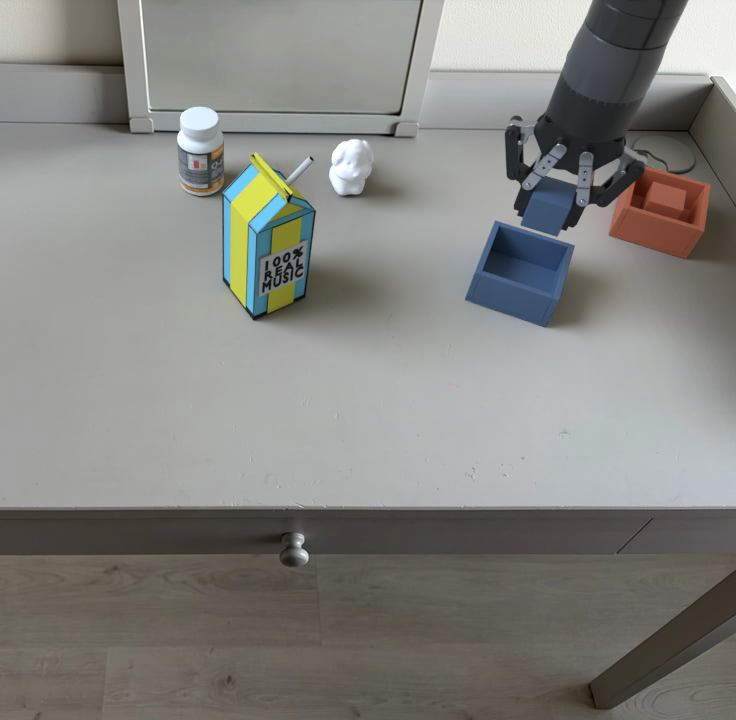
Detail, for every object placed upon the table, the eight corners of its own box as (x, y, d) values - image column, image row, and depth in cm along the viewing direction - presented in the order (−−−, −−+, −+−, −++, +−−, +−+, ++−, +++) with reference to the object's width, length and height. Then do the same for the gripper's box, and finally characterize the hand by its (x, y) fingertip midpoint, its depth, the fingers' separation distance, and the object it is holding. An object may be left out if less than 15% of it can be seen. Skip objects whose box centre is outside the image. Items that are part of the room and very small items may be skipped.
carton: (312, 296, 89) (329, 171, 75) (254, 322, 87) (260, 198, 72) (278, 255, 93) (288, 129, 79) (222, 279, 91) (221, 153, 76)
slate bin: (561, 272, 93) (575, 245, 89) (545, 327, 88) (559, 300, 84) (484, 248, 95) (495, 220, 91) (464, 300, 90) (474, 272, 86)
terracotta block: (671, 215, 99) (686, 190, 96) (668, 234, 97) (683, 210, 93) (639, 205, 100) (653, 181, 97) (635, 225, 98) (649, 200, 94)
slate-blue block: (564, 214, 84) (578, 185, 80) (557, 237, 81) (571, 208, 78) (527, 202, 85) (539, 173, 81) (519, 225, 82) (531, 196, 79)
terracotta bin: (693, 212, 100) (711, 184, 97) (686, 259, 95) (704, 231, 91) (619, 190, 102) (634, 162, 99) (608, 235, 97) (623, 207, 93)
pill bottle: (223, 198, 99) (222, 133, 91) (178, 197, 99) (173, 132, 91) (224, 169, 102) (224, 104, 94) (181, 168, 102) (177, 102, 94)
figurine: (330, 206, 99) (338, 155, 92) (321, 166, 103) (327, 115, 97) (372, 204, 99) (382, 154, 93) (361, 164, 104) (370, 113, 97)
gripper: (518, 75, 69) (469, 220, 82) (684, 120, 65) (604, 263, 79) (535, 34, 73) (486, 178, 87) (693, 74, 70) (615, 217, 83)
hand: (543, 218), depth 83 cm, fingers closed on slate-blue block, 4 cm apart
